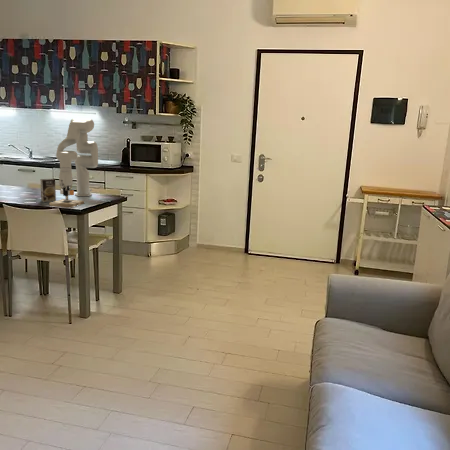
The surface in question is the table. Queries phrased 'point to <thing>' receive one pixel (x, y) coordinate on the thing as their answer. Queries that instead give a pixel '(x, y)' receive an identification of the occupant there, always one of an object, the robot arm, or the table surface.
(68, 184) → the robot arm
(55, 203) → the key plate
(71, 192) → the t key
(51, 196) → the coffee box
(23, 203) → the table surface
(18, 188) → the table surface
